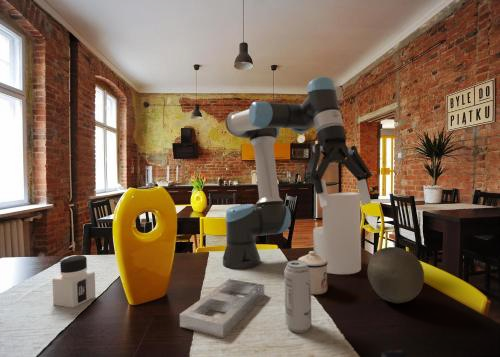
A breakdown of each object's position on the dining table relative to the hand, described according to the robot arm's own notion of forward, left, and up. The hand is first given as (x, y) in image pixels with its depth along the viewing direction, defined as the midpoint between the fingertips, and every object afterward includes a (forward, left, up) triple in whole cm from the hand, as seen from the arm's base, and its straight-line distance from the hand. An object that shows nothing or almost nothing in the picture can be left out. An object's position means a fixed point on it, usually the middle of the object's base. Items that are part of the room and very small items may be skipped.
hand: (346, 205), depth 72 cm
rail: (+11, -30, -28) cm, 42 cm away
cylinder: (-35, -8, -28) cm, 45 cm away
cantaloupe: (-10, +11, -28) cm, 32 cm away
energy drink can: (+12, -10, -28) cm, 32 cm away
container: (+24, -74, -28) cm, 83 cm away
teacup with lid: (-12, -12, -28) cm, 33 cm away
